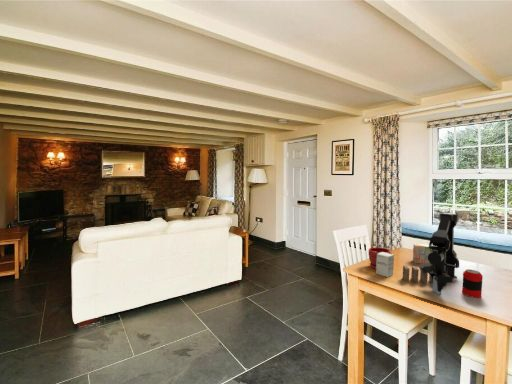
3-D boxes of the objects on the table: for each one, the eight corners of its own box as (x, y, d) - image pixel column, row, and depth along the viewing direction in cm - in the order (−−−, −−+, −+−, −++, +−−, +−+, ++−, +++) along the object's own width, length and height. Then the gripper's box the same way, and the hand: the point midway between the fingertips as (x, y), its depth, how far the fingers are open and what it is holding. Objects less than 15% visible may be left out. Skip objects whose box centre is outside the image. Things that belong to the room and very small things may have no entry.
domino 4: (429, 280, 152) (429, 267, 152) (433, 280, 152) (433, 268, 151) (432, 284, 147) (433, 270, 147) (436, 284, 147) (437, 271, 146)
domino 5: (432, 289, 140) (433, 276, 139) (437, 290, 139) (437, 276, 139) (436, 293, 135) (437, 279, 135) (441, 294, 134) (441, 280, 134)
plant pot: (383, 264, 180) (384, 246, 179) (394, 271, 167) (395, 252, 166) (364, 264, 179) (365, 246, 179) (373, 271, 166) (374, 252, 166)
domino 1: (402, 278, 156) (403, 265, 155) (406, 278, 155) (406, 265, 155) (404, 281, 151) (405, 268, 150) (408, 281, 150) (409, 268, 150)
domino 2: (411, 278, 154) (411, 266, 154) (415, 279, 154) (415, 266, 153) (414, 282, 150) (414, 269, 149) (417, 282, 149) (418, 269, 149)
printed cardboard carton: (448, 264, 181) (449, 246, 180) (451, 267, 175) (452, 248, 174) (412, 260, 189) (413, 243, 188) (414, 262, 183) (414, 245, 182)
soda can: (472, 291, 139) (473, 268, 138) (485, 297, 131) (486, 274, 130) (458, 291, 138) (459, 268, 138) (470, 298, 131) (472, 274, 130)
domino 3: (420, 279, 153) (420, 267, 153) (423, 280, 153) (424, 267, 152) (423, 283, 148) (423, 270, 148) (427, 283, 148) (427, 270, 148)
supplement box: (375, 273, 162) (376, 253, 161) (381, 271, 166) (382, 251, 166) (387, 277, 156) (388, 256, 155) (393, 274, 161) (394, 254, 160)
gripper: (415, 253, 147) (413, 280, 148) (427, 264, 129) (426, 295, 130) (437, 254, 144) (436, 282, 145) (454, 266, 126) (452, 298, 127)
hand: (437, 289), depth 137 cm, fingers closed on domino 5, 5 cm apart
